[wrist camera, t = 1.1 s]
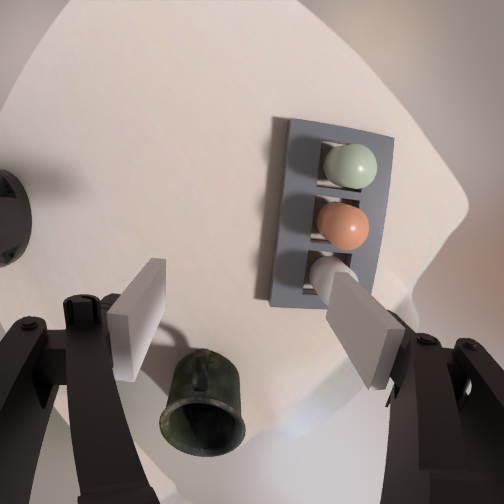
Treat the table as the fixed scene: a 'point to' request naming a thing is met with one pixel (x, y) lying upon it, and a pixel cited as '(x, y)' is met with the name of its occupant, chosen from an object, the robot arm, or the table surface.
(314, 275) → the grey button
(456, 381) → the robot arm
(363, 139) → the button board
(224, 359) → the mug
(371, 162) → the sage button
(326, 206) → the terracotta button
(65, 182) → the table surface
